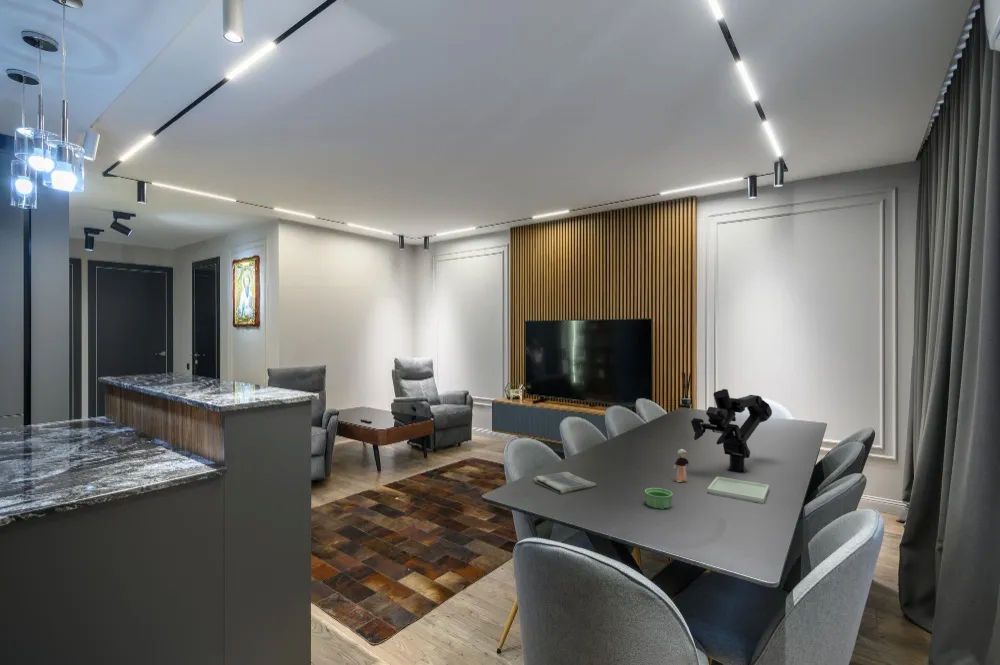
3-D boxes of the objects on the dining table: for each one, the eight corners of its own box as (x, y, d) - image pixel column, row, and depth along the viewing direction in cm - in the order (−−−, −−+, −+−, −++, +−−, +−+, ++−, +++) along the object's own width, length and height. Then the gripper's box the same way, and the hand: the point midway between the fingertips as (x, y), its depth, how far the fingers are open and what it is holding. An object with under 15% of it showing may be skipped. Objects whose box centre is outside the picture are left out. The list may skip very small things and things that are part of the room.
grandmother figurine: (680, 484, 184) (680, 451, 184) (671, 481, 187) (672, 449, 187) (692, 481, 188) (692, 448, 188) (683, 478, 191) (683, 446, 191)
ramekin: (638, 502, 164) (639, 489, 164) (660, 499, 168) (660, 486, 168) (656, 511, 156) (656, 498, 156) (678, 508, 159) (678, 494, 159)
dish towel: (598, 488, 180) (598, 479, 180) (560, 496, 171) (560, 487, 171) (566, 475, 196) (566, 467, 196) (530, 482, 186) (530, 473, 186)
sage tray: (716, 480, 189) (716, 476, 189) (769, 489, 178) (769, 485, 178) (707, 493, 174) (707, 488, 174) (763, 504, 164) (763, 498, 164)
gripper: (697, 399, 201) (678, 420, 193) (742, 404, 186) (724, 428, 178) (703, 421, 204) (685, 443, 196) (748, 428, 190) (731, 452, 181)
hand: (705, 441), depth 188 cm, fingers open, 9 cm apart
